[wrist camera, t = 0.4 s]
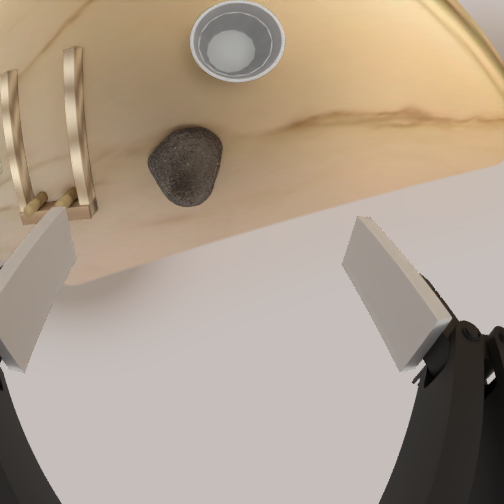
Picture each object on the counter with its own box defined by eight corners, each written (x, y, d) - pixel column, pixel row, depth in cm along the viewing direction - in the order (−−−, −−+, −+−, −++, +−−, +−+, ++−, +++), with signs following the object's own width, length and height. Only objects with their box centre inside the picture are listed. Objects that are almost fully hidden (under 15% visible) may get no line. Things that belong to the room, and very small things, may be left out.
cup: (236, 93, 32) (246, 99, 22) (184, 59, 29) (170, 51, 19) (275, 47, 29) (303, 35, 19) (224, 12, 26) (230, -16, 16)
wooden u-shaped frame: (9, 73, 23) (-11, 76, 19) (82, 47, 25) (65, 45, 21) (31, 215, 36) (17, 231, 32) (97, 209, 38) (86, 225, 34)
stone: (171, 120, 36) (122, 167, 33) (211, 109, 31) (154, 162, 27) (206, 171, 43) (165, 219, 39) (247, 170, 38) (203, 225, 34)
